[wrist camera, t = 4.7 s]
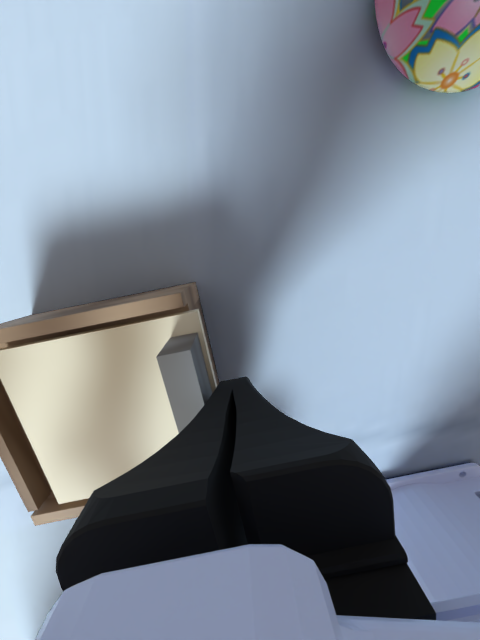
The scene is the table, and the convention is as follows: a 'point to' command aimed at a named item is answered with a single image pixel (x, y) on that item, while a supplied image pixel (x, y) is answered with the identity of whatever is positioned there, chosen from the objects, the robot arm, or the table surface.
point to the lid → (107, 396)
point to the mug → (433, 41)
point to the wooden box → (3, 423)
